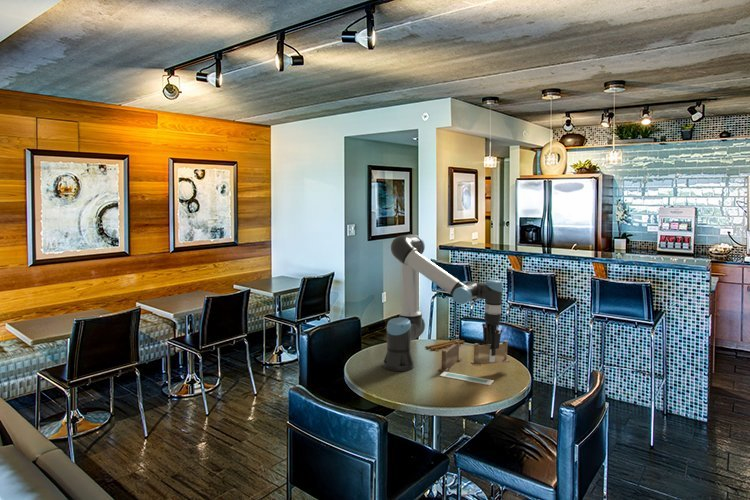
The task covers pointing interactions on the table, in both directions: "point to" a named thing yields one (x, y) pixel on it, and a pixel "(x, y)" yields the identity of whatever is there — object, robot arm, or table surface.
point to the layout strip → (467, 378)
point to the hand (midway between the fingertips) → (490, 360)
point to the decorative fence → (443, 345)
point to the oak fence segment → (483, 354)
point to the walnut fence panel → (450, 357)
